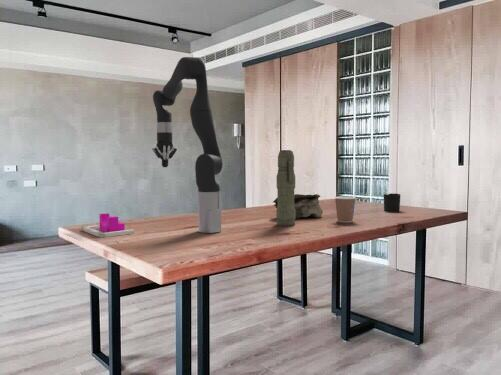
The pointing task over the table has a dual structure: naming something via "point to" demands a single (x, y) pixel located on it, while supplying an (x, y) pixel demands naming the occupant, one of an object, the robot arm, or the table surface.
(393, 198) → the pen holder
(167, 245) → the table surface
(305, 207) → the hollow geode rock
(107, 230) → the toy block
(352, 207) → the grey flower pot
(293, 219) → the green stone statue
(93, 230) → the frame
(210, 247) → the table surface
